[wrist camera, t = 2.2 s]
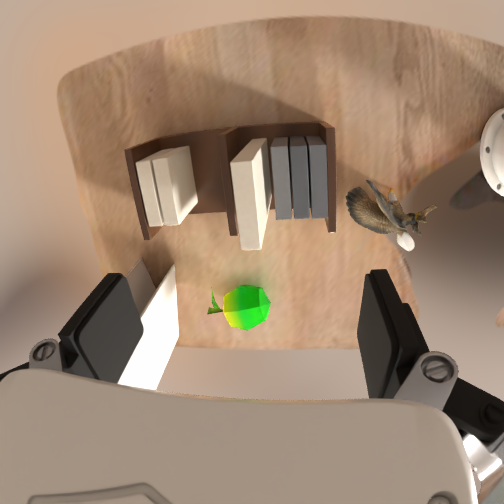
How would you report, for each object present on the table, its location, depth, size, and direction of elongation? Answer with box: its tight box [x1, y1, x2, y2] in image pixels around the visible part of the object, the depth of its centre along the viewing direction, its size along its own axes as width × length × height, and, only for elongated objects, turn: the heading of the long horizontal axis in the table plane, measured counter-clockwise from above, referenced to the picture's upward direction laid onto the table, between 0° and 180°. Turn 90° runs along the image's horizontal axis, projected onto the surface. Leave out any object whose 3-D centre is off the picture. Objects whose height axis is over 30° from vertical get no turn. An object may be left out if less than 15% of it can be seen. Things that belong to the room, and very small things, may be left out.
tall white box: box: [118, 258, 179, 390], centre depth 33 cm, size 14×6×30 cm, turn 174°
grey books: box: [270, 136, 328, 220], centre depth 30 cm, size 5×7×7 cm
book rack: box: [125, 122, 337, 240], centre depth 32 cm, size 20×10×8 cm, turn 96°
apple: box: [208, 285, 270, 330], centre depth 41 cm, size 7×6×9 cm
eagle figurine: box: [346, 180, 437, 251], centre depth 32 cm, size 8×7×9 cm
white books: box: [136, 146, 198, 227], centre depth 32 cm, size 4×7×7 cm, turn 6°
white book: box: [230, 138, 272, 250], centre depth 28 cm, size 2×7×13 cm, turn 6°
